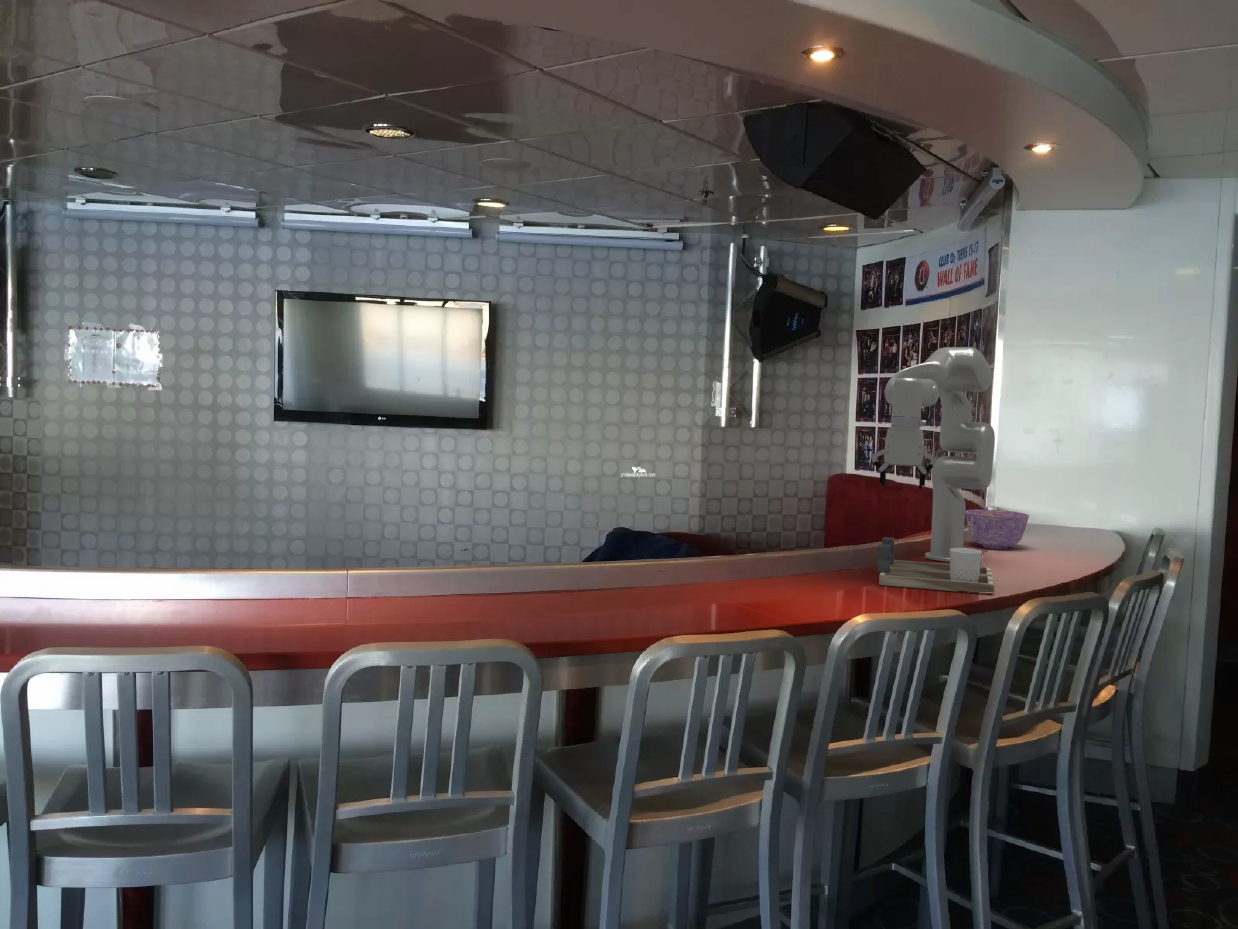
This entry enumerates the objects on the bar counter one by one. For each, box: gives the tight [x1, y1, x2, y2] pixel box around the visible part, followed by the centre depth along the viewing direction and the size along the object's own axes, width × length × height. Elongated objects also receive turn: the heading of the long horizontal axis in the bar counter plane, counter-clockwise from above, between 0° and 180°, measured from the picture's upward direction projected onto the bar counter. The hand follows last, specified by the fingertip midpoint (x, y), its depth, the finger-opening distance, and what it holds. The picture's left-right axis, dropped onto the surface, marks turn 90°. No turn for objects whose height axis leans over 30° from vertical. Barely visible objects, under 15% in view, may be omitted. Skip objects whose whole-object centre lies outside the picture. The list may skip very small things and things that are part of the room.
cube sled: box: [881, 536, 993, 577], centre depth 270 cm, size 13×29×10 cm, turn 71°
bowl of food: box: [965, 509, 1030, 550], centre depth 326 cm, size 20×20×12 cm
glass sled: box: [876, 543, 995, 593], centre depth 256 cm, size 13×29×10 cm, turn 71°
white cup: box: [949, 547, 983, 583], centre depth 254 cm, size 8×8×10 cm
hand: (901, 487), depth 262 cm, fingers open, 9 cm apart
